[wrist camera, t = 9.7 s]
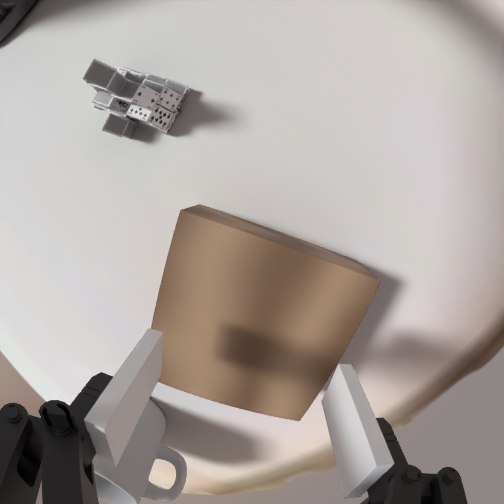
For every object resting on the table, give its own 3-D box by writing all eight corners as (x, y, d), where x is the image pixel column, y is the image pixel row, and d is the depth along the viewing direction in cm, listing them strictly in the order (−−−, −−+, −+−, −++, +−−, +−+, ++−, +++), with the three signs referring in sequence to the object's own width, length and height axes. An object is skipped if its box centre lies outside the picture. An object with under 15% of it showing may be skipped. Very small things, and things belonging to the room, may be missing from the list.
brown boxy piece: (162, 341, 22) (142, 375, 17) (200, 204, 19) (180, 210, 14) (293, 381, 22) (299, 421, 18) (354, 259, 20) (380, 281, 15)
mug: (94, 411, 25) (55, 473, 14) (102, 369, 23) (48, 441, 12) (183, 455, 26) (165, 526, 15) (209, 422, 24) (190, 511, 13)
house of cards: (64, 156, 18) (1, 152, 11) (108, 65, 17) (56, 31, 9) (142, 196, 19) (83, 205, 12) (195, 92, 17) (160, 46, 10)
